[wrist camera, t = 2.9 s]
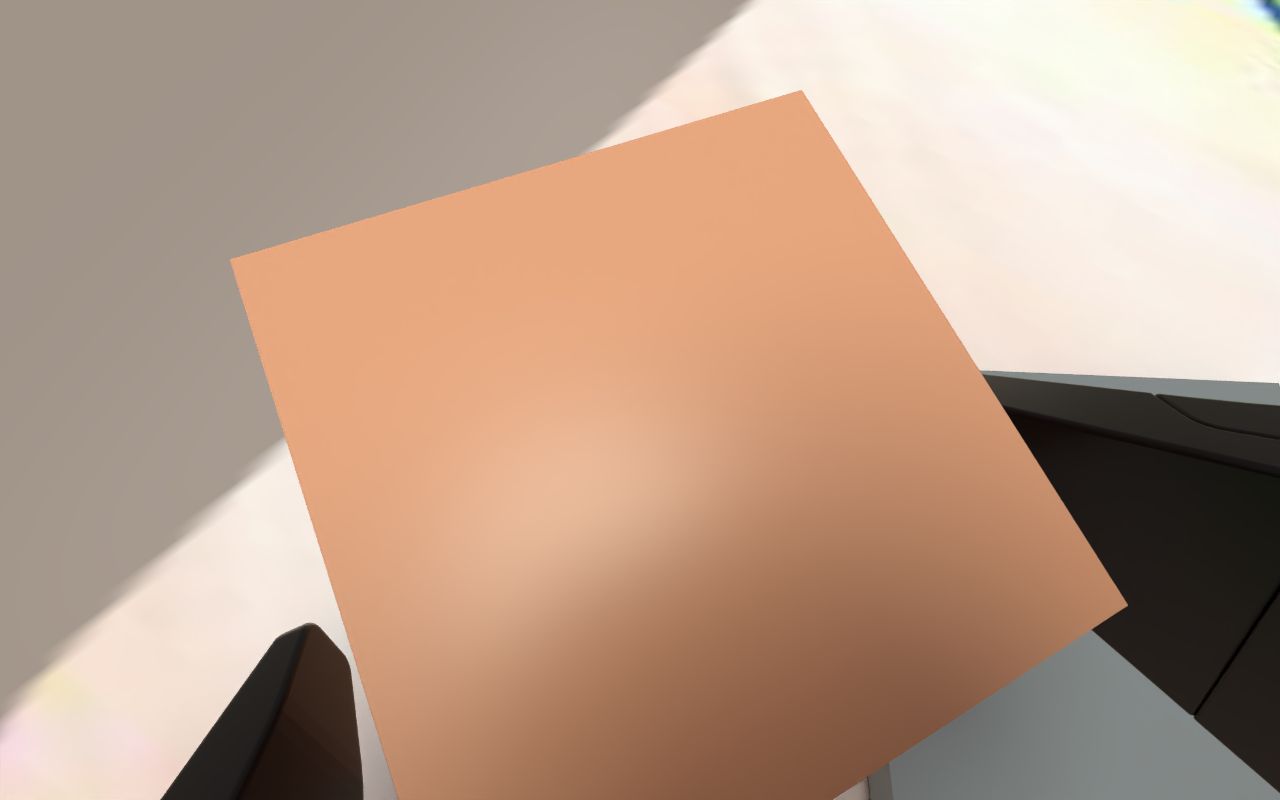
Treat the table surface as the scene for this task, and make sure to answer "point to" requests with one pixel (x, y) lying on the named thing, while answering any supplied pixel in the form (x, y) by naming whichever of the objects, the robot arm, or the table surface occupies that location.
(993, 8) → the table surface
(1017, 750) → the slate board
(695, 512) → the tall peach square pillar
